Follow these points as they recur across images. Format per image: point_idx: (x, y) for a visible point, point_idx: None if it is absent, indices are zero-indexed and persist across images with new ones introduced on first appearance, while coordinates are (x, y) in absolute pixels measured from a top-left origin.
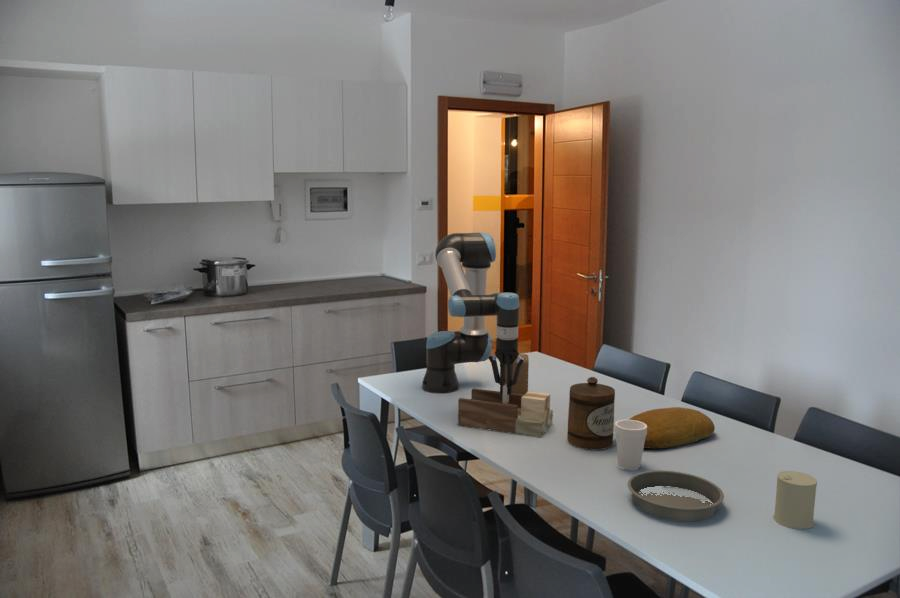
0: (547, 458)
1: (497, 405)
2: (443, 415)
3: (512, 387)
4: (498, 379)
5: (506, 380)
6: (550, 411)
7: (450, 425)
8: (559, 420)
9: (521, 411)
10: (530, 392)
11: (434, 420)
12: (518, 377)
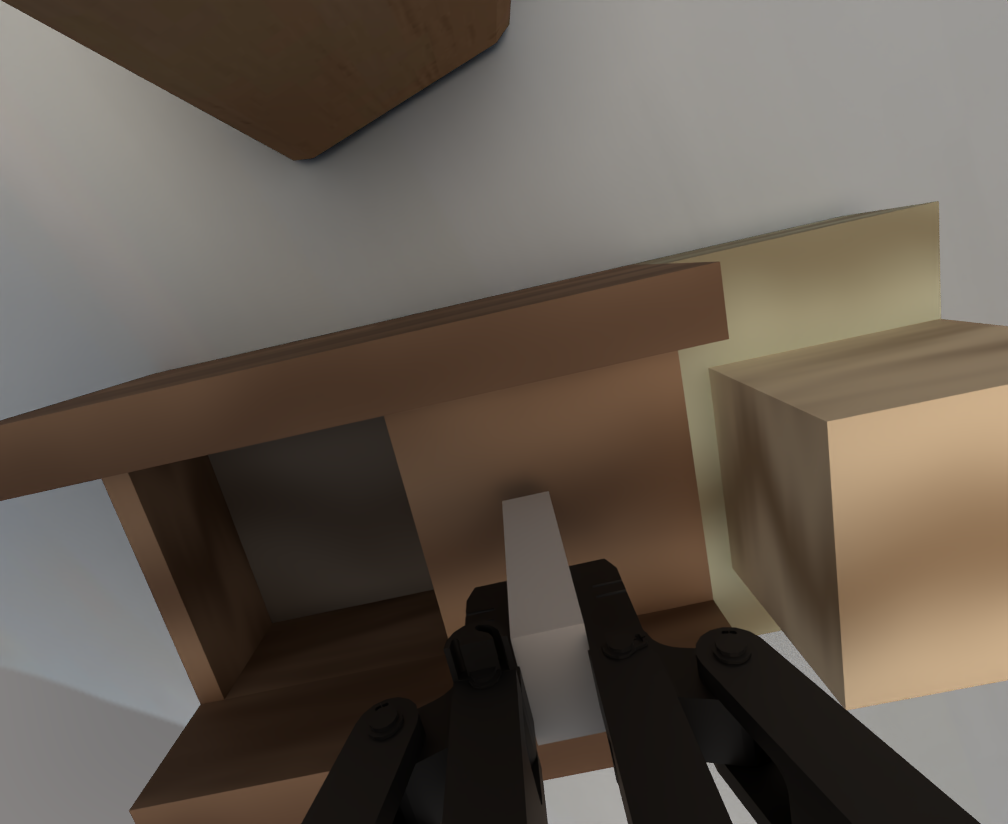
0: (1000, 787)
1: (572, 764)
2: (26, 552)
3: (316, 11)
4: (425, 813)
5: (169, 14)
6: (929, 256)
7: None
8: (873, 85)
9: (761, 598)
10: (881, 455)
11: (67, 668)
12: (850, 715)
